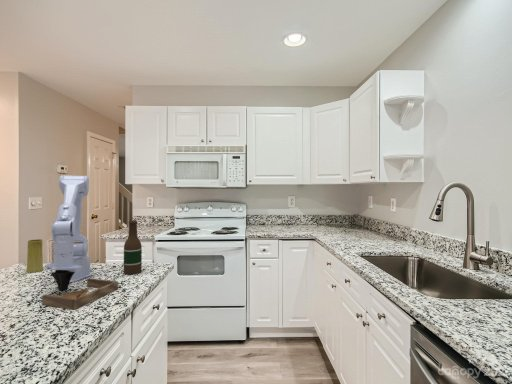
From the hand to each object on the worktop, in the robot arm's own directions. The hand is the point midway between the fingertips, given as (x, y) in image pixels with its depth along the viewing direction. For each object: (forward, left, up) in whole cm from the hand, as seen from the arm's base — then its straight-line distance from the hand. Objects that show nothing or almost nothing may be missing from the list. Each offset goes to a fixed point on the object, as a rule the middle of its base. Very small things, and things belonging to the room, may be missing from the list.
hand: (63, 290), depth 95 cm
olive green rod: (-18, -38, -1) cm, 42 cm away
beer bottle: (-28, +7, -1) cm, 29 cm away
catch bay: (0, +9, -1) cm, 9 cm away
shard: (+2, +5, -2) cm, 6 cm away
